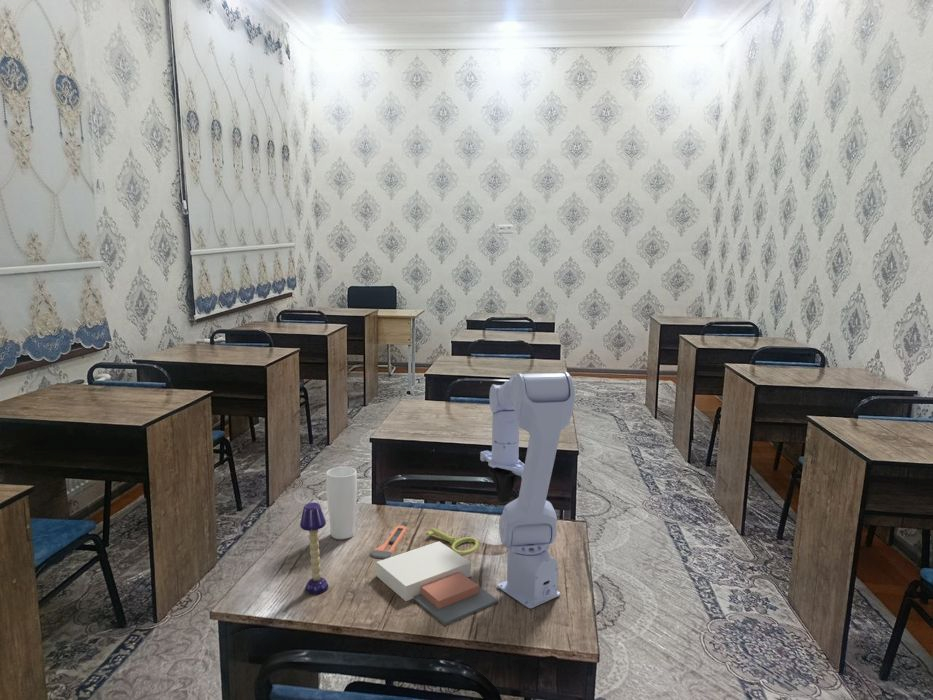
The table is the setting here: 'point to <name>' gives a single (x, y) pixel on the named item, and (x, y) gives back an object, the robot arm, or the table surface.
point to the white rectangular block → (420, 568)
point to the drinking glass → (341, 501)
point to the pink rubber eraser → (449, 590)
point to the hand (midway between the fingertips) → (504, 500)
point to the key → (455, 541)
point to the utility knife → (393, 538)
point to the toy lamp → (314, 545)
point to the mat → (457, 606)
